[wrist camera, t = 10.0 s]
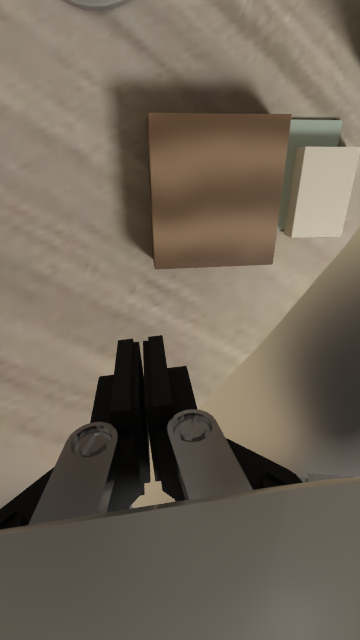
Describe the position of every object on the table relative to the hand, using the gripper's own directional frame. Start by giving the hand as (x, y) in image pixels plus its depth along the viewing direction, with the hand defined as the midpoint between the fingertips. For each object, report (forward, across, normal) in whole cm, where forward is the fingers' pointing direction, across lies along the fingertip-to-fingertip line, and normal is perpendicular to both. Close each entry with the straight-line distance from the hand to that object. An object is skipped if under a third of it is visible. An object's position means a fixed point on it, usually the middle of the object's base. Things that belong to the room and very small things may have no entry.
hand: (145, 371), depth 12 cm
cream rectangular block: (+24, -20, -4) cm, 32 cm away
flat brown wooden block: (+26, -8, -4) cm, 28 cm away
